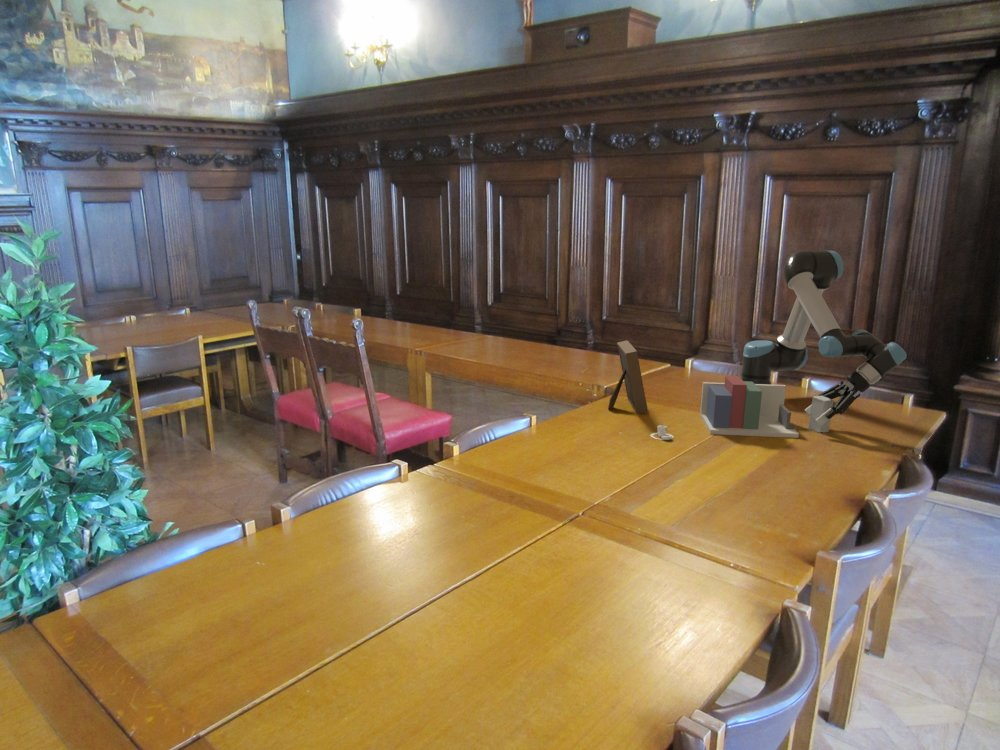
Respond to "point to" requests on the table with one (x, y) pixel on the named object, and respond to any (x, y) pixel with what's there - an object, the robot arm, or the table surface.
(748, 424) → the book shelf
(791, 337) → the robot arm
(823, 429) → the skincare box
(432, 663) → the table surface
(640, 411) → the photo frame
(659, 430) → the coiled charger cable
